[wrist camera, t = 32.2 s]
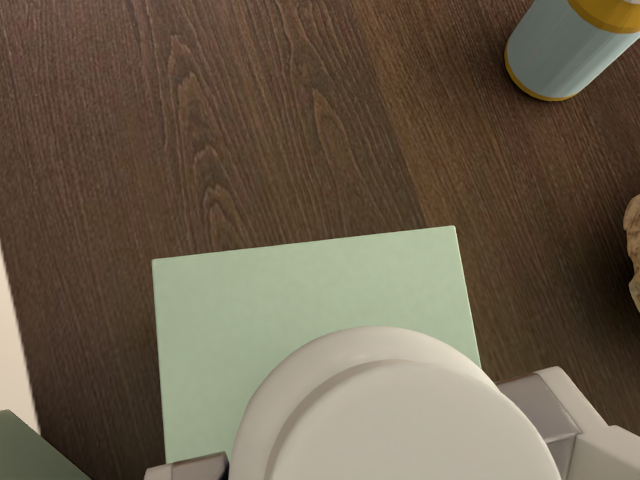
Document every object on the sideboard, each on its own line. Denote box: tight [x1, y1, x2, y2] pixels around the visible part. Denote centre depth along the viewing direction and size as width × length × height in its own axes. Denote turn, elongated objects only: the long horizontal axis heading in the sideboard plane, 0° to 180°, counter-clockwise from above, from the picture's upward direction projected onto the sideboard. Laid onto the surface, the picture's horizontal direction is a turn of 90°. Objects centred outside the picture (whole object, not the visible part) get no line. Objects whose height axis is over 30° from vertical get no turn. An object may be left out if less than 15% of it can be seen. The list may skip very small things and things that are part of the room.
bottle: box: [504, 0, 640, 101], centre depth 38 cm, size 7×7×15 cm
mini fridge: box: [152, 226, 482, 466], centre depth 29 cm, size 12×18×18 cm, turn 8°
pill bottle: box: [228, 326, 561, 480], centre depth 12 cm, size 5×5×10 cm
